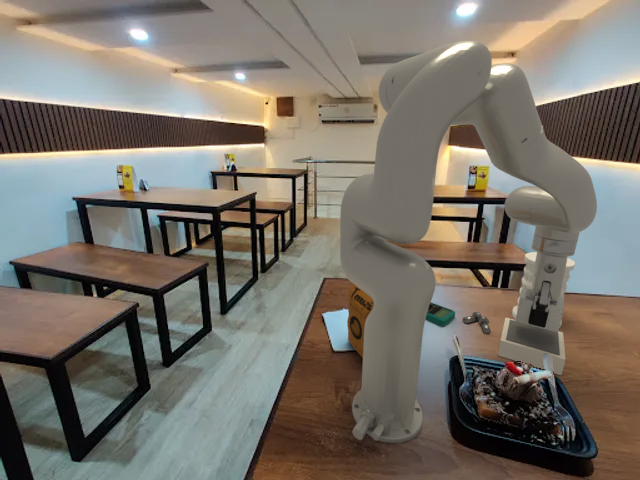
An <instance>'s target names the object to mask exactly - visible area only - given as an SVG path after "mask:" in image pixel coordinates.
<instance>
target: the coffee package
mask: <svg viewBox="0 0 640 480" xmlns="http://www.w3.org/2000/svg"><path fill="white" fill-rule="evenodd" d="M348 289H349V290H348V309H347V311H348V318H347V319H346V322H347V333H348V334H347V336H348V337H347V341H348V342H349V343H350V345H352V347H353V349H354V350H355V351H356V352H357V353H358V355H360V357H361V358H362V359H363V346H364V326H365V321H366V319H367V317H368V315H369V314H370V312H371V311H372V309H373V307H374V302H373V299H372V298H371V297H370V296H369V295H367V294H366V293H365V292H364V291H363V290H361V289H360V288H359V287H357V286H356V285H354V284H353V283H352V282H351V285H350V287H349V288H348Z"/></svg>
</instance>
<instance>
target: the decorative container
mask: <svg viewBox="0 0 640 480" xmlns="http://www.w3.org/2000/svg"><path fill="white" fill-rule="evenodd" d="M536 255H537V251H531V252H527V253H525V255H524V262H525V263H526V264H525V266H524V268H523V273H524V274H523V276H522V278H521V286H520V288H519V295H520V294H521V289H525V290H527V289H531V290H532V280H533V271H534V266H535V260H536ZM575 266H576V261H574V260H572V259H571V258H569V257H567V264H566V270H565V275H564V279H563V284H562V288H561V293H560V297H563V300H564V301H565V296H564V295H565V293H566V292H567V289H568V288H567V287H568V285H567V282H569V280H570V278H571V277H570V276H571V274H570V271H573V270H575ZM519 299H520V296H519V297H518V298H517V305H515V306H513V307H512V312H511V315H512V317H513V318H514V320H516V314H517V309H518V304H519ZM562 323H563V320H562V319H561V323H560V327H559V329H560V328H561V327H562Z"/></svg>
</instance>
